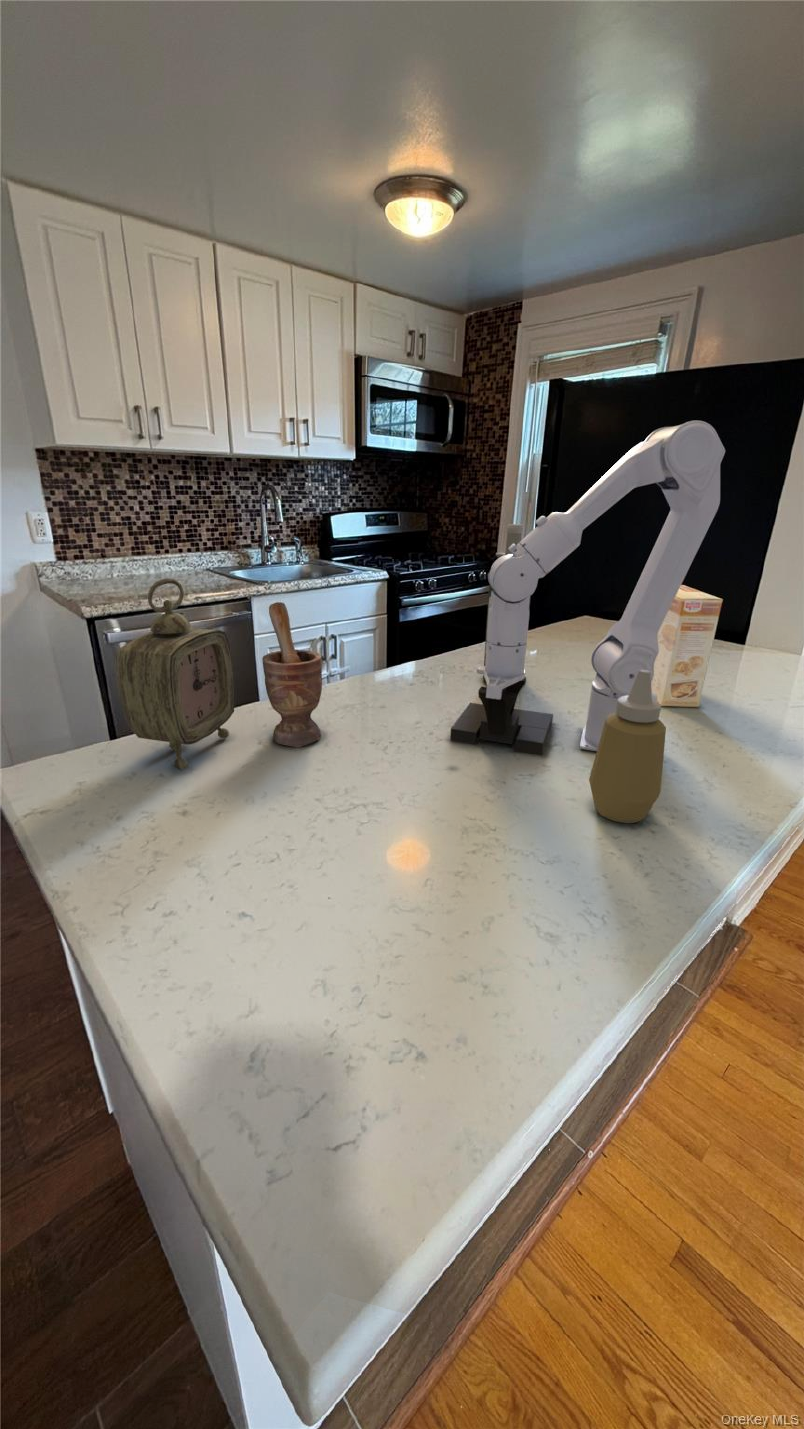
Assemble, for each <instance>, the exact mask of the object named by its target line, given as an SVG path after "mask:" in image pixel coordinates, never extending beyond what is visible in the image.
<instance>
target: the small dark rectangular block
mask: <svg viewBox="0 0 804 1429" xmlns="http://www.w3.org/2000/svg"><path fill="white" fill-rule="evenodd" d="M518 721H519V715H512V714H509V717H508V721H507V725H506V729H505V731H504V734H503V735H502V736H501V735H495V734H490V733H489V730H488V725H487V718H486V714H485V715H484V717H483V719H482V720H481V727H480V737H479V739H480V740H484V741H491V742H497V743H503V744H509V745H512V744H514V741H515V740H516V738H517V736H516V735H517V732H518Z"/></svg>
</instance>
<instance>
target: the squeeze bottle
mask: <svg viewBox="0 0 804 1429" xmlns="http://www.w3.org/2000/svg"><path fill="white" fill-rule="evenodd" d="M661 710H662V706H661V704H660V703H659V702H658V701H656V700H654V699H652V690H651V672H650V671H649V670H639V672H638V674H637V677H636V679H635V682H634V684H633V686H632V689H631V691H630V693H629V695H626V696H622V697H619V698H618V700H617V705H616V711H615V712H616V713H613V714H611V715H609V716H608V717H607V718H606V720H605V724H604V727H603V731H602V734H601V738H600V742H599V745H598V749H597V751H595V752H596V753H595V757H594V760H593V764H592V767H591V771H590V774H589V778H588V781H589V786H590V790H591V795H592V796H591V797H592V800H593V804H594V808H595V811H596V812H598V814H600V815H601V816H602V817H604V818H606V819H608V820H611V821H613V822H618V823H624V824H632V823H633V824H634V823H639V822H641V821H642V820H644V819H645V818H646V817H647V815H648V814H649V812H650V810H651V809H652V807H653V806H654V804H655V803H656V802H657V801H658V799H659V797H660V794H661V790H662V780H663V779H662V778H663V768H664V756H665V745H666V744H665V743H666V732H667V731H666V730H667V727H666V725H665V724H664V723H663V722H662V720H661V719H659V718H660V715H661Z"/></svg>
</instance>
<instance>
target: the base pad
mask: <svg viewBox="0 0 804 1429" xmlns="http://www.w3.org/2000/svg"><path fill="white" fill-rule="evenodd" d="M485 714H486V713H485V709H484V706H483V703H475V702H469V703H468V705H467V706H466V708H465V709H464V710H463V712H462V713H461V714H460V715H459V717H458V718H457V720H456V721H455V722H454V723H453V725H452V726H451V728H450V739H449V740H450V741H451V742H452V741H453V742H459V743H463V744H464V743H465V744H471V745H476V744H477V742H478V741H479V739H480V727H481V720H482V719H483V717H484V715H485ZM512 715H519V721H518V732H517V735H516V737H515V744H514V751H515V752H521V753H526V754H533V755H538V756H542V755H543V754H544V750H545V747H546V744H547V742H548V738H549V735H550V731H551V729H552V727H553V720H554V714H553V713H548V712H540V711H533V710H527V709H526V710H525V709H518V708H514V711H513V714H512Z"/></svg>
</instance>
